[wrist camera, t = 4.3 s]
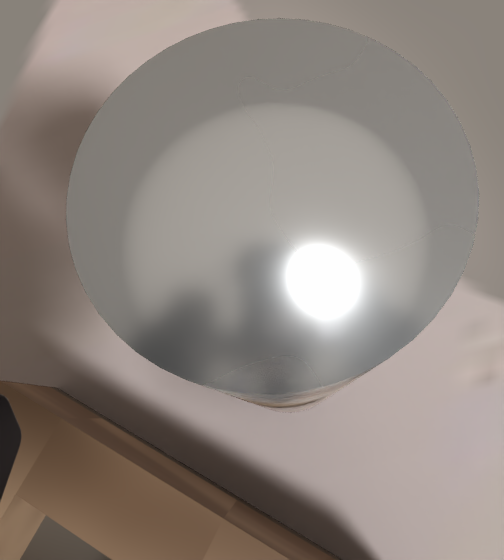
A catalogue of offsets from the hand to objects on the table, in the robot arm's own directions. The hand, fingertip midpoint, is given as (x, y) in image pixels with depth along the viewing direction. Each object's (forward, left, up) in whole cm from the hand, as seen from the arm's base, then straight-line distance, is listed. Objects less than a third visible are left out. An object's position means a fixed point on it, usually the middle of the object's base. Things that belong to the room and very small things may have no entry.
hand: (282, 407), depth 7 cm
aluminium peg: (+2, +1, -9) cm, 10 cm away
